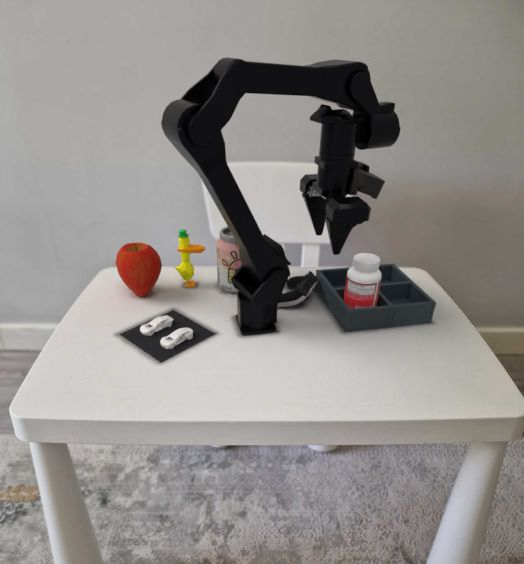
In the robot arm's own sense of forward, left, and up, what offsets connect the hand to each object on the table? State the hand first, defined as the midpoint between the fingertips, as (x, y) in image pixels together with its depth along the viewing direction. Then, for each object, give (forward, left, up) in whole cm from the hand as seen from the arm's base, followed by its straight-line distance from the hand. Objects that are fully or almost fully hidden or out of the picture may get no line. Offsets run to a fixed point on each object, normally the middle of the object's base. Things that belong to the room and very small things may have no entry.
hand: (327, 244), depth 82 cm
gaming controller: (-4, +4, -13) cm, 14 cm away
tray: (+10, -1, -13) cm, 16 cm away
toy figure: (-24, +14, -13) cm, 31 cm away
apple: (-34, +12, -13) cm, 38 cm away
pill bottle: (+6, -5, -12) cm, 14 cm away
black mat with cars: (-30, -4, -13) cm, 33 cm away
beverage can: (-14, +12, -13) cm, 23 cm away
